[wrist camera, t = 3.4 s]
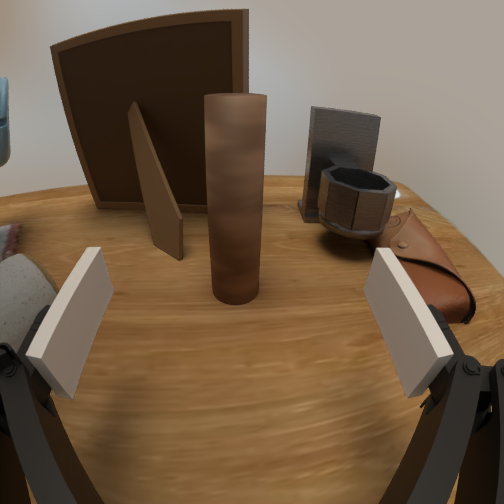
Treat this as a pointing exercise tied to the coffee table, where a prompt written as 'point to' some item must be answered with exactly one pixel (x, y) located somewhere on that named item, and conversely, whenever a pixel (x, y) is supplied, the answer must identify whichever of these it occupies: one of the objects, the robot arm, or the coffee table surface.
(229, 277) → the brown wooden dowel
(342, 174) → the bracket
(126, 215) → the coffee table surface
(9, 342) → the ceramic mug
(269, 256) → the coffee table surface
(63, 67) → the photo frame
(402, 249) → the sunglasses case
